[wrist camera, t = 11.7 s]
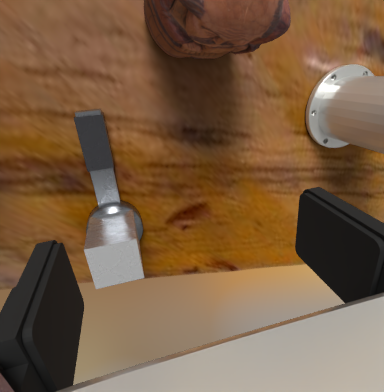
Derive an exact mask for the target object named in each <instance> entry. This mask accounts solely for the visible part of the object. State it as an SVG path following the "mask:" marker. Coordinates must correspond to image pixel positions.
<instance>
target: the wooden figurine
mask: <svg viewBox="0 0 384 392" xmlns="http://www.w3.org/2000/svg"><path fill="white" fill-rule="evenodd" d="M144 15H145V19H146V23H147V25H148V28H149V31H150V33H151V36H152V37H153V39H154V40H155V42H156V43H157V45H158V46H159V47H160V48H161V49H162V50H163V51H164V52H165V53H167V54H168V55H170V56H172V57H177V58H183V57H191V58H195V59H202V58H208V59H216V58H220V57H221V56H223V55H225V54H227V53H229V52H232V53H234V54H241V53H247V52H253V51H255V50H256V49H258V48H259V46H260V45H261V44H263V43H267V42H270V41H273V40H274V39H276V38H278V37H280V36H281V35H283V34H284V33H285V32H286V31H287V30H288V28H289V26H290V8H289V3H288V0H144Z"/></svg>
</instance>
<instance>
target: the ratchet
mask: <svg viewBox="0 0 384 392" xmlns="http://www.w3.org/2000/svg"><path fill="white" fill-rule="evenodd" d="M75 115H76V116H75V117H74V121H75V124H76V128H77V132H78V136H79V140H80V144H81V147H82V151H83V155H84V159H85V163H86V167H87V170H88V172H89V171H90V174H91V178H92V182H93V185H94V189H95V193H96V197H97V201H98V206H96V207H95V208H94V209H93V210H92V212H91V213H90V215H89V218H88V223H87V229H86V234H87V230H88V225H89V219H90V217H94V216H100V215H105V214H110V213H116V212H121V211H127V210H132V209H133V213H134V218H135V223H136V228H137V233H138V238H139V241H140V239H141V236H142V232H143V226H142V220H141V216H140V213H139V212H138V210H137V209H136V208H135V207H134V206H133V205H132V204H130V203H128V202H125V201H122V200H120V195H119V191H118V186H117V182H116V177H115V172H114V161H113V156H112V151H111V147H110V142H109V137H108V133H107V128H106V123H105V119H104V114H103V112H101V109H93V110H84V111H76V112H75Z"/></svg>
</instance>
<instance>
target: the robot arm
mask: <svg viewBox="0 0 384 392" xmlns="http://www.w3.org/2000/svg"><path fill="white" fill-rule="evenodd" d="M306 125H307V130H308V132H309V134H310V136H311V137H312V138H313V140H314V141H316V142H317V143H318V144H320V145H322V146H325V147H329V148H339V147H343V146H346V145H348V144H353V145H356V146H359V147H363V148H366V149H369V150H373V151H376V152H379V153H383V154H384V76H374V75H373V74H372V72H371V71H370V70H369V69H367V68H366V67H364V66H361V65H353V64H350V65H343V66H340V67H337V68H335V69H333V70H331V71H330V72H328V73H327V74H326V75H325V76H324V77H323V78H322V79H321V80H320V81H319V82H318V83H317V85H316V86H315V88H314V90H313V91H312V93H311V96H310V98H309V101H308V104H307V108H306ZM295 249H296V253H297V254H298V256H299V257H300V258H301V259H302V260H303V261H304V262H305V263H306V264H307V265H308V266H309V267H310V268H311V269H312V270H313V271H314V272H315V273H316V274H317V275H318V276H319V277H320V278H321V279H322V280H323V281H324V282H325V283H326V284H327V285H328V286H329V287H330V288H331V289H332V290H333V291H334V292H335V293H336V294H337V295H338V296H339V297H340V298H341V299H342V300H343V301H344V302H345V304H342V305H339V306H335V307H331V308H328V309H325V310H321V311H318V312H314V313H310V314H307V315H304V316H300V317H297V318H293V319H290V320H287V321H283V322H280V323H276V324H273V325H270V326H266V327H263V328H259V329H256V330H252V331H249V332H246V333H242V334H239V335H235V336H232V337H229V338H226V339H222V340H219V341H215V342H212V343H209V344H205V345H202V346H198V347H195V348H192V349H188V350H185V351H182V352H178V353H175V354H172V355H168V356H165V357H162V358H158V359H155V360H152V361H148V362H145V363H142V364H139V365H135V366H132V367H129V368H126V369H123V370H120V371H116V372H113V373H110V374H107V375H104V376H101V377H98V378H95V379H91V380H88V381H85V382H82V383H79V384H76V385H73V381H74V374H75V367H76V360H77V353H78V346H79V339H80V333H81V325H82V318H83V312H84V302H83V298H82V295H81V292H80V290H79V287H78V284H77V281H76V278H75V275H74V272H73V270H72V267H71V264H70V261H69V258H68V256H67V253H66V250H65V247H64V245H63V243H57V241H55V240H53V241H48V242H43V243H38V244H37V245H36V246H35V248H34V250H33V252H32V255H31V257H30V259H29V261H28V263H27V265H26V267H25V269H24V271H23V273H22V276H21V278H20V280H19V282H18V284H17V286H16V287H14V288H13V289H12V290H11V292H10V294H9V296H8V298H7V300H6V302H5V304H4V306H3V308H2V310H1V312H0V392H384V223H382V222H380V221H379V220H377V219H375V218H373V217H372V216H370V215H368V214H366V213H365V212H363V211H361V210H359V209H357V208H356V207H354V206H352V205H350V204H349V203H347V202H345V201H343V200H341V199H340V198H338V197H336V196H334V195H333V194H331V193H329V192H327V191H326V190H324V189H322V188H320V187H316V188H311V189H306V190H304V192H303V194H301V195H300V199H299V211H298V222H297V234H296V245H295Z"/></svg>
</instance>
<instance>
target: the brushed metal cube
mask: <svg viewBox="0 0 384 392" xmlns="http://www.w3.org/2000/svg"><path fill="white" fill-rule="evenodd" d="M84 252H85V255H86V258H87V261H88V265H89V268H90V271H91V274H92V278H93V281H94V284H95V287H96V289H99V288H103V287H108V286H112V285H116V284H120V283H125V282H129V281H133V280H138V279H142V278H144V272H143V265H142V258H141V250H140V243H139V238H138V233H137V228H136V223H135V218H134V213H133V209H132V210H127V211H121V212H116V213H110V214H105V215H100V216H94V217H90V219H89V225H88V230H87V236H86V241H85V247H84Z"/></svg>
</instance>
